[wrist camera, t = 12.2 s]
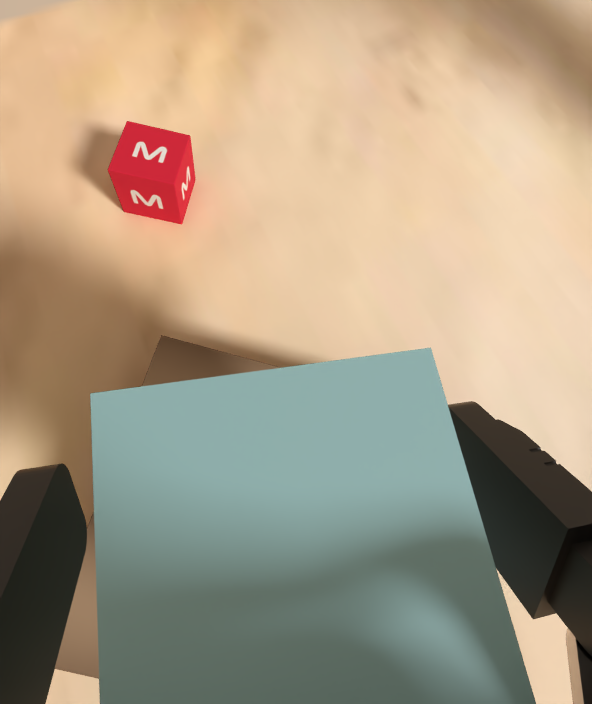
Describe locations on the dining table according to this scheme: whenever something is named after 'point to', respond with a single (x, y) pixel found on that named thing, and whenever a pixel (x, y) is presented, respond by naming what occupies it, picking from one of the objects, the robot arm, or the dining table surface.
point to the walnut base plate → (82, 629)
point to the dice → (153, 172)
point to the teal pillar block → (295, 543)
